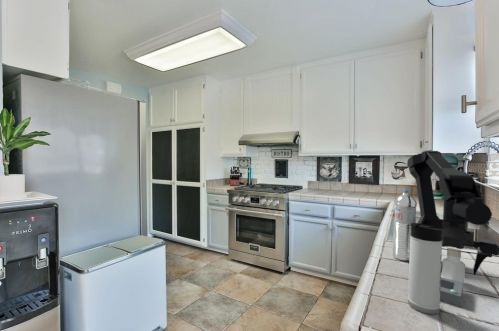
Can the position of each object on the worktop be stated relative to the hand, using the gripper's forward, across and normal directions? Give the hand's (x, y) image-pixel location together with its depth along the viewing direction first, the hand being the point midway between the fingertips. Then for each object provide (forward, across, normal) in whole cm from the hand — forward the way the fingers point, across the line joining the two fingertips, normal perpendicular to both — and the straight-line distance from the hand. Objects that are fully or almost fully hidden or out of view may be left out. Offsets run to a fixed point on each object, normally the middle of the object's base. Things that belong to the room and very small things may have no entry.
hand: (453, 269), depth 75 cm
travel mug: (+4, -4, -23) cm, 23 cm away
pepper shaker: (+4, 0, 0) cm, 4 cm away
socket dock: (+4, -2, -11) cm, 12 cm away
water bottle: (+4, -15, +10) cm, 19 cm away
